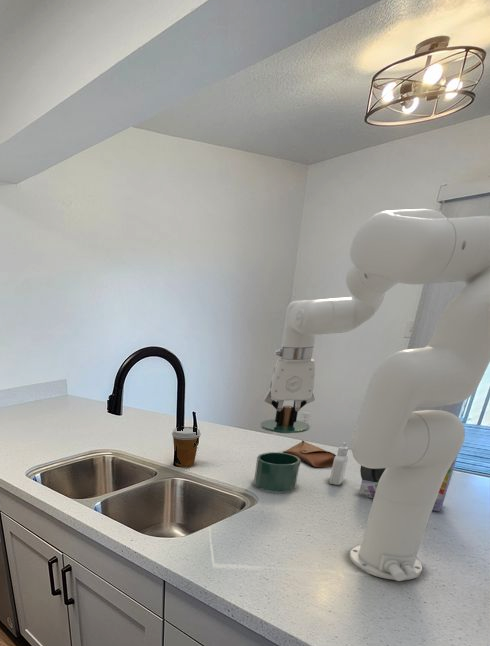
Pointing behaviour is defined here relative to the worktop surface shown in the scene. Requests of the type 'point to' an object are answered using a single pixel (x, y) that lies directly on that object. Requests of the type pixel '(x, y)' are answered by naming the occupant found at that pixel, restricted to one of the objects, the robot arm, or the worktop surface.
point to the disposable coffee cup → (185, 445)
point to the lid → (285, 423)
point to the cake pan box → (373, 475)
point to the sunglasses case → (312, 454)
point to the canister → (276, 471)
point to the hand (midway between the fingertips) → (284, 424)
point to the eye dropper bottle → (339, 465)
